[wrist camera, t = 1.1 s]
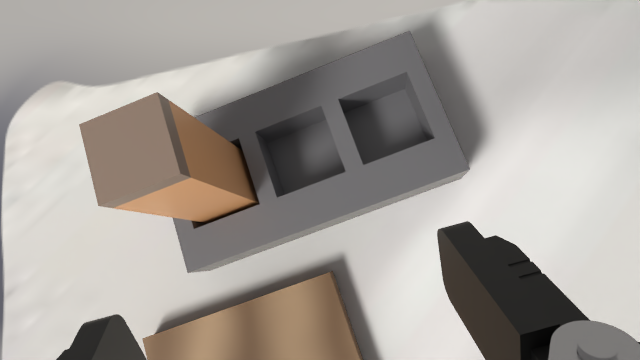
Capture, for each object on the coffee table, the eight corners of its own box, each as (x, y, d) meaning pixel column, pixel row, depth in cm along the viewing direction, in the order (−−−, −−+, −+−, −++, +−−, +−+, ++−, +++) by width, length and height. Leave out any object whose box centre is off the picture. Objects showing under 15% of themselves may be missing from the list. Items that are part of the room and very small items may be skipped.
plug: (249, 155, 32) (157, 92, 19) (265, 205, 31) (180, 173, 19) (200, 174, 32) (79, 124, 20) (215, 224, 32) (98, 205, 19)
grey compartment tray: (407, 54, 32) (409, 30, 28) (460, 178, 30) (469, 169, 26) (174, 147, 34) (150, 135, 30) (209, 270, 32) (187, 272, 28)
